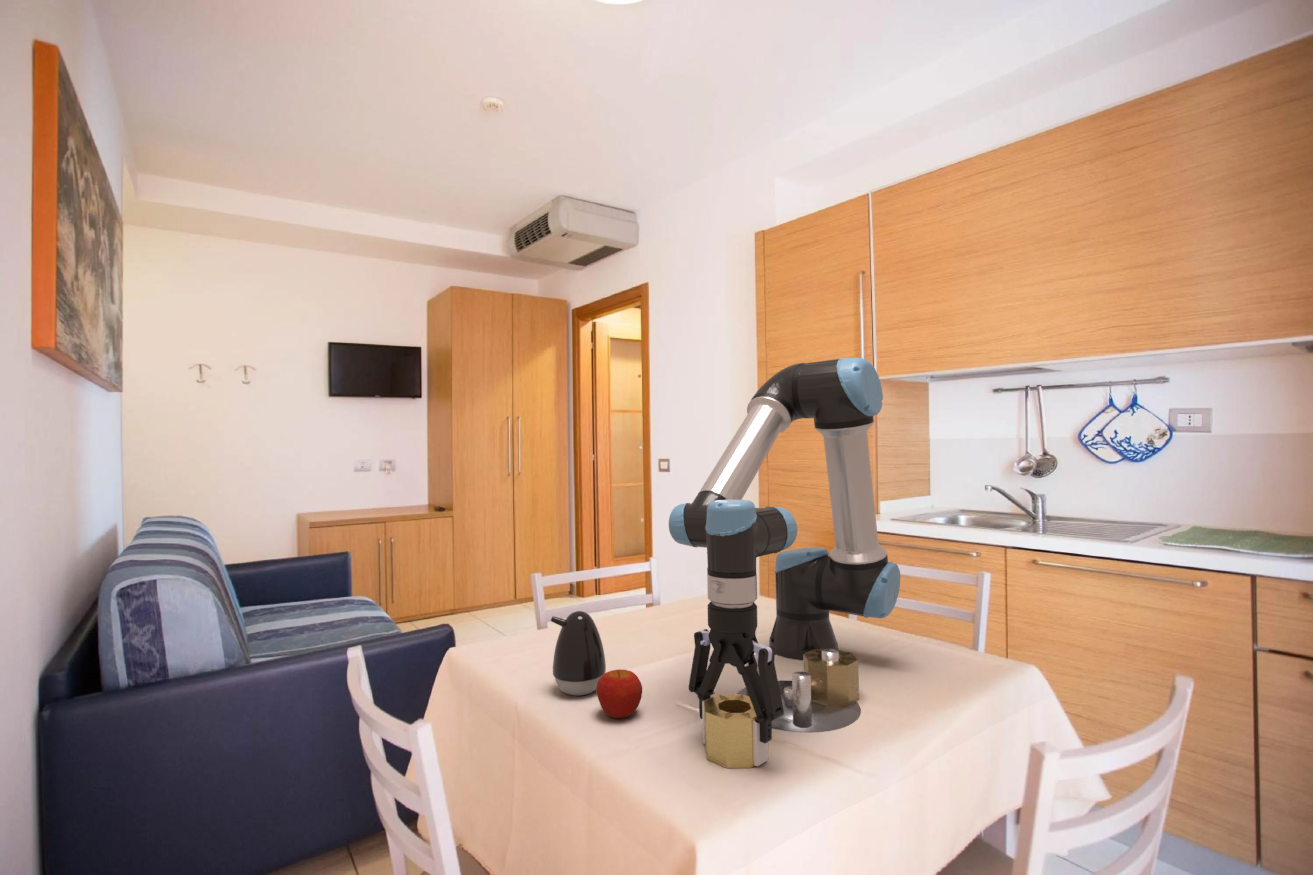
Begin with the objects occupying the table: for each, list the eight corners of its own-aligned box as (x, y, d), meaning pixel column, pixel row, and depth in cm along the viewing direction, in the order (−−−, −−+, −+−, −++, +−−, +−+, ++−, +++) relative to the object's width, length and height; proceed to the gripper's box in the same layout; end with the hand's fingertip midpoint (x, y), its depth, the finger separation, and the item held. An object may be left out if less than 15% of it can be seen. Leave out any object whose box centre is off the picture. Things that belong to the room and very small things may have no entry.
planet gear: (693, 753, 94) (692, 706, 94) (730, 733, 100) (729, 689, 100) (741, 774, 88) (740, 724, 88) (777, 751, 94) (776, 705, 94)
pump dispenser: (554, 681, 124) (553, 605, 124) (606, 679, 125) (604, 603, 125) (549, 702, 114) (548, 619, 114) (606, 699, 115) (605, 617, 115)
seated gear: (796, 695, 113) (795, 657, 113) (821, 682, 119) (820, 645, 119) (841, 710, 106) (840, 669, 107) (865, 694, 113) (865, 656, 113)
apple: (637, 726, 103) (636, 679, 104) (591, 723, 105) (591, 676, 105) (645, 707, 111) (645, 663, 111) (603, 704, 112) (603, 661, 113)
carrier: (707, 709, 109) (707, 659, 110) (778, 675, 125) (777, 632, 125) (818, 751, 94) (817, 692, 94) (883, 706, 109) (882, 656, 110)
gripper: (664, 595, 99) (666, 736, 99) (778, 620, 84) (781, 787, 83) (695, 587, 105) (697, 721, 104) (807, 609, 89) (810, 767, 89)
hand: (734, 751), depth 94 cm, fingers closed on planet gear, 9 cm apart
